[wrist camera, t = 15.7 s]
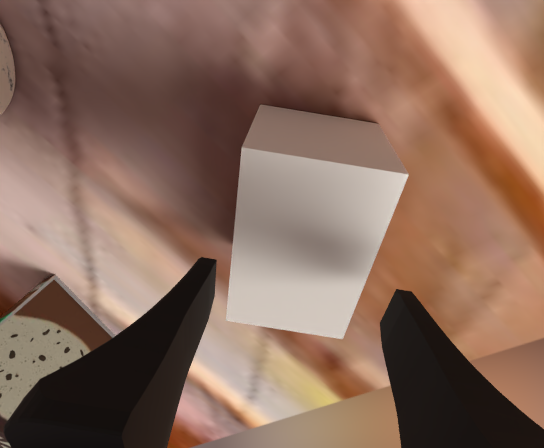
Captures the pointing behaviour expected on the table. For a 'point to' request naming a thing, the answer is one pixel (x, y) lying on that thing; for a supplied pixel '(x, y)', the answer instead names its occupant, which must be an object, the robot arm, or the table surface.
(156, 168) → the table surface
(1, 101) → the teacup with lid
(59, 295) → the food container
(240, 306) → the white block
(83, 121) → the table surface
